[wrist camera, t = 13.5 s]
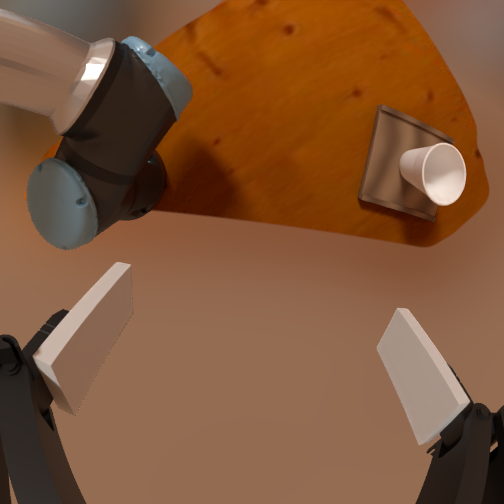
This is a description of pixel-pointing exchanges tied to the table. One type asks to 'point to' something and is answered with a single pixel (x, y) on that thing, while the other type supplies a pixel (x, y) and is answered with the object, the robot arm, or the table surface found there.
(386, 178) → the board
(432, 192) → the cup
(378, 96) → the table surface
